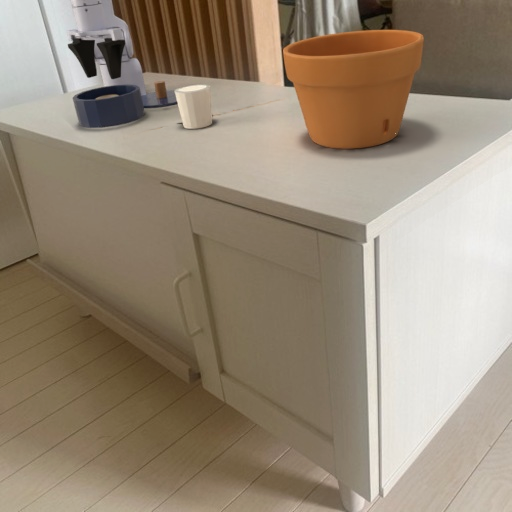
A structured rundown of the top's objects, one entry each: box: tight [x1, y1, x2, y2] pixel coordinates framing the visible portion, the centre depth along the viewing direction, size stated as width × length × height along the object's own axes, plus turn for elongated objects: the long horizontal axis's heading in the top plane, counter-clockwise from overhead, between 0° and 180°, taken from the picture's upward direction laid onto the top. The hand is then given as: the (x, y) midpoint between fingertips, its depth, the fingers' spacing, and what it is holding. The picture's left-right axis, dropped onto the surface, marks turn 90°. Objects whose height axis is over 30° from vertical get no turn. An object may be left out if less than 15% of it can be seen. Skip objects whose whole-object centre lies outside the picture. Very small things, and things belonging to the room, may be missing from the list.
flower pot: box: [282, 29, 425, 150], centre depth 86 cm, size 21×21×15 cm
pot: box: [72, 85, 145, 129], centre depth 113 cm, size 14×14×6 cm
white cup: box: [174, 84, 213, 130], centre depth 104 cm, size 7×7×7 cm
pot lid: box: [142, 80, 178, 109], centre depth 125 cm, size 15×15×5 cm
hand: (104, 77), depth 111 cm, fingers open, 7 cm apart
